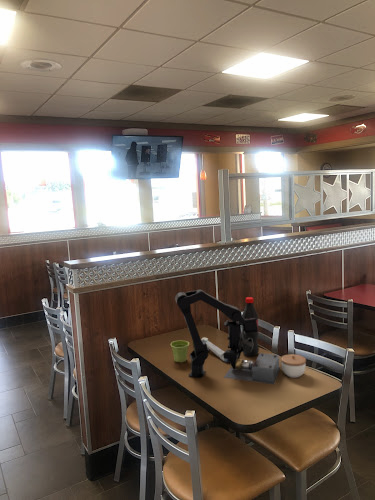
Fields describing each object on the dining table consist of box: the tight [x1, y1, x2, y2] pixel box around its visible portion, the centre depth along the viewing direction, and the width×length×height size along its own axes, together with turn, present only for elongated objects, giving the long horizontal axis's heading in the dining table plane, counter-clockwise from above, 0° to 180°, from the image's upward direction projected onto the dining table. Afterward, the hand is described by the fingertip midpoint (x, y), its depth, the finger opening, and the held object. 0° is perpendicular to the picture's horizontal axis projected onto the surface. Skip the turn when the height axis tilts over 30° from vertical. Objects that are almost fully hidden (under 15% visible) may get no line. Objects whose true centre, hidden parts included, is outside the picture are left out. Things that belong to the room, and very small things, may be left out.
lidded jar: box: [280, 353, 307, 379], centre depth 175 cm, size 11×11×9 cm
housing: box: [252, 352, 280, 383], centre depth 177 cm, size 16×9×7 cm, turn 158°
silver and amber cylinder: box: [229, 357, 254, 370], centre depth 181 cm, size 5×10×5 cm, turn 68°
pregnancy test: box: [200, 337, 230, 363], centre depth 203 cm, size 5×7×25 cm
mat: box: [223, 363, 282, 385], centre depth 180 cm, size 18×22×1 cm
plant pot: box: [170, 340, 190, 363], centre depth 197 cm, size 9×9×9 cm
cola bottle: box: [241, 296, 260, 358], centre depth 199 cm, size 8×8×30 cm
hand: (235, 366), depth 182 cm, fingers closed on silver and amber cylinder, 5 cm apart
